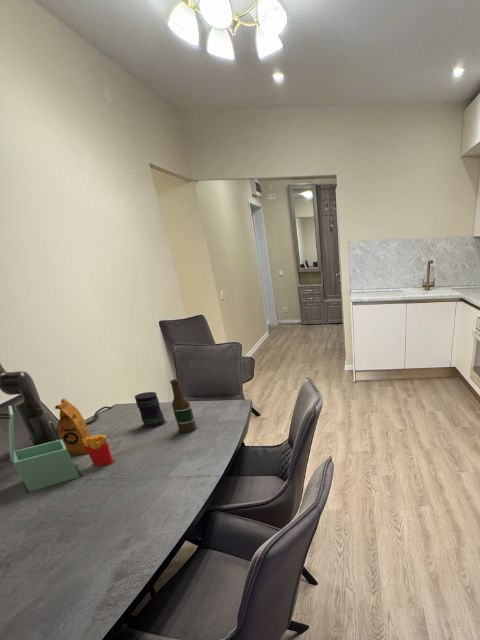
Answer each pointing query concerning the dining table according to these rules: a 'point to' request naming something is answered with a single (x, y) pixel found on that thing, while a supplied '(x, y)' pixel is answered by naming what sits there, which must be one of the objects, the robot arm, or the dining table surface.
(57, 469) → the cool box
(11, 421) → the lid
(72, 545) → the dining table surface
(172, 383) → the beer bottle
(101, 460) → the french fries
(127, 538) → the dining table surface
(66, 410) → the coffee package
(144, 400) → the dark barrel
